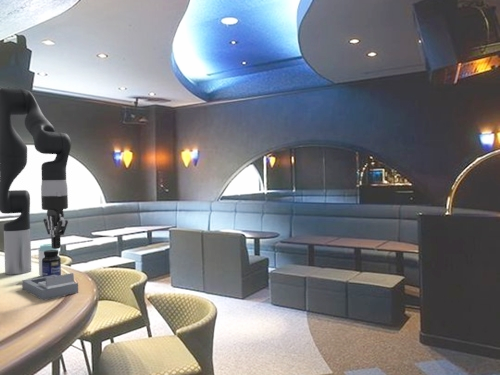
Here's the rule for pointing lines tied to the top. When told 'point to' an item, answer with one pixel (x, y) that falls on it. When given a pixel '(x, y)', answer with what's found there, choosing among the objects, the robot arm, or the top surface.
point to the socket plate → (44, 293)
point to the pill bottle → (51, 263)
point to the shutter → (57, 281)
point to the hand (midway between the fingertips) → (56, 248)
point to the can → (41, 255)
